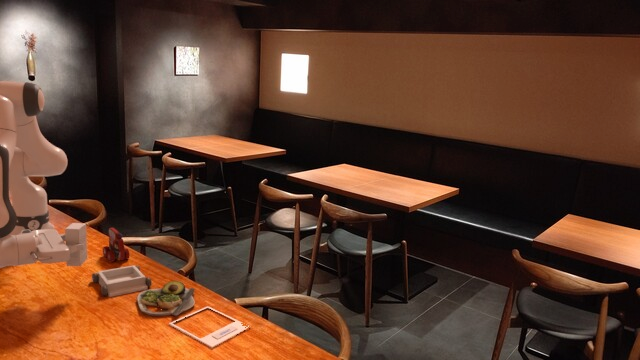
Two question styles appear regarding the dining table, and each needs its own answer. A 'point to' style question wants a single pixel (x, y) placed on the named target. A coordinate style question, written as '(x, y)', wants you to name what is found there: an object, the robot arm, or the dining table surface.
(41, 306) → the dining table surface
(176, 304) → the avocado toast plate
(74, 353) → the dining table surface
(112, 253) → the toy fire truck
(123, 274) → the chassis
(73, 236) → the skincare box
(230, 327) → the photo frame
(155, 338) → the dining table surface
